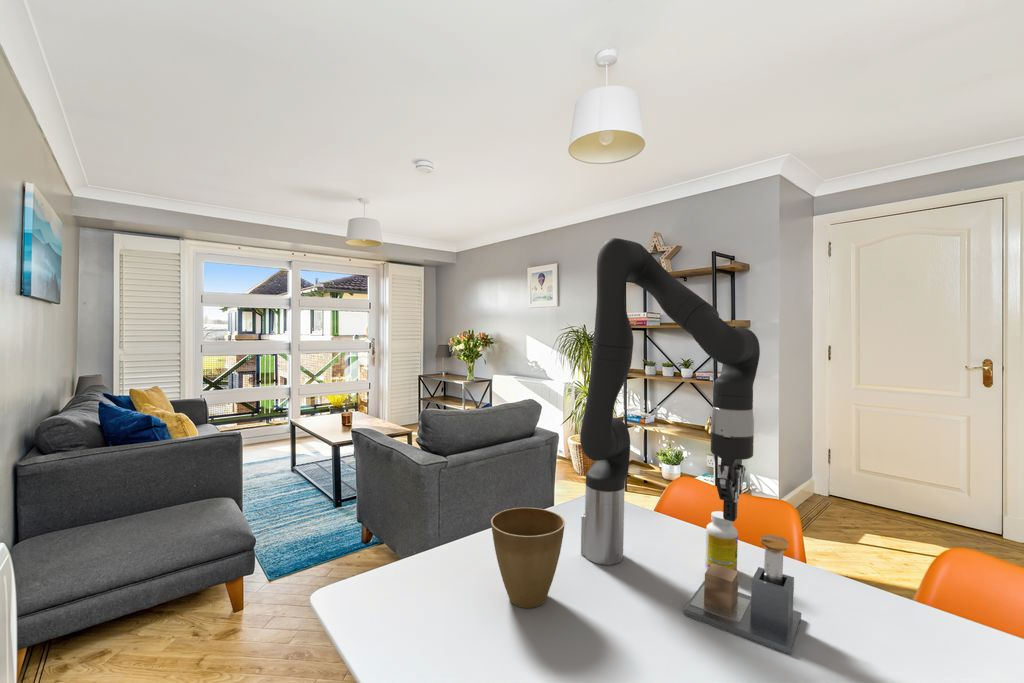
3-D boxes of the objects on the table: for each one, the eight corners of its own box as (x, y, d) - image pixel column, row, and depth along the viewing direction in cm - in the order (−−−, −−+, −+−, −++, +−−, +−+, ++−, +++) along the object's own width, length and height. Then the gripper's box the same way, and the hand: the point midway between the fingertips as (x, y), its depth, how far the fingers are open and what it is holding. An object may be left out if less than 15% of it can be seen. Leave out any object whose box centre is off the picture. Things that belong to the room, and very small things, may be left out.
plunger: (756, 599, 89) (758, 540, 88) (761, 588, 92) (763, 532, 92) (783, 607, 86) (786, 547, 86) (787, 597, 89) (789, 538, 89)
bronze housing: (704, 603, 94) (704, 573, 94) (711, 592, 98) (712, 563, 98) (731, 612, 91) (732, 581, 91) (737, 601, 95) (738, 571, 95)
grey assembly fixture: (683, 614, 93) (685, 567, 92) (703, 586, 103) (705, 544, 103) (790, 655, 82) (792, 602, 81) (801, 618, 92) (802, 571, 92)
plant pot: (572, 588, 101) (574, 513, 101) (547, 628, 88) (549, 542, 87) (509, 572, 108) (510, 501, 107) (476, 607, 94) (477, 526, 94)
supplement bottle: (740, 579, 106) (742, 522, 105) (708, 576, 107) (710, 519, 107) (732, 564, 112) (734, 510, 112) (702, 561, 114) (704, 508, 113)
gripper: (720, 423, 100) (719, 505, 101) (701, 433, 90) (699, 525, 90) (760, 428, 96) (758, 514, 96) (745, 439, 85) (743, 536, 86)
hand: (730, 519), depth 93 cm, fingers closed
